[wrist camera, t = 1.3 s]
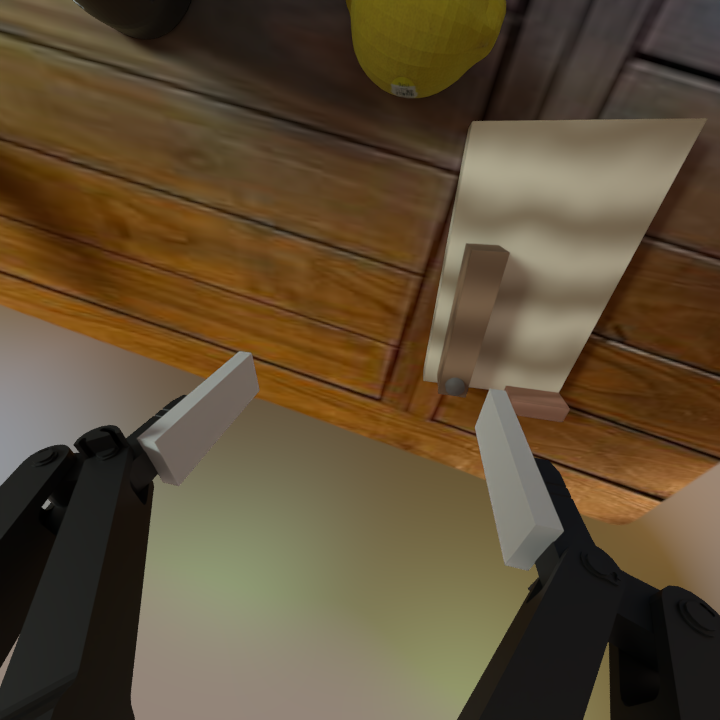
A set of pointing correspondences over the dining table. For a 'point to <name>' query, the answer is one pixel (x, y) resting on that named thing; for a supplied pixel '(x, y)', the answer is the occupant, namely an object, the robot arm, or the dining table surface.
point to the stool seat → (553, 239)
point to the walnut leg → (470, 315)
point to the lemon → (422, 41)
